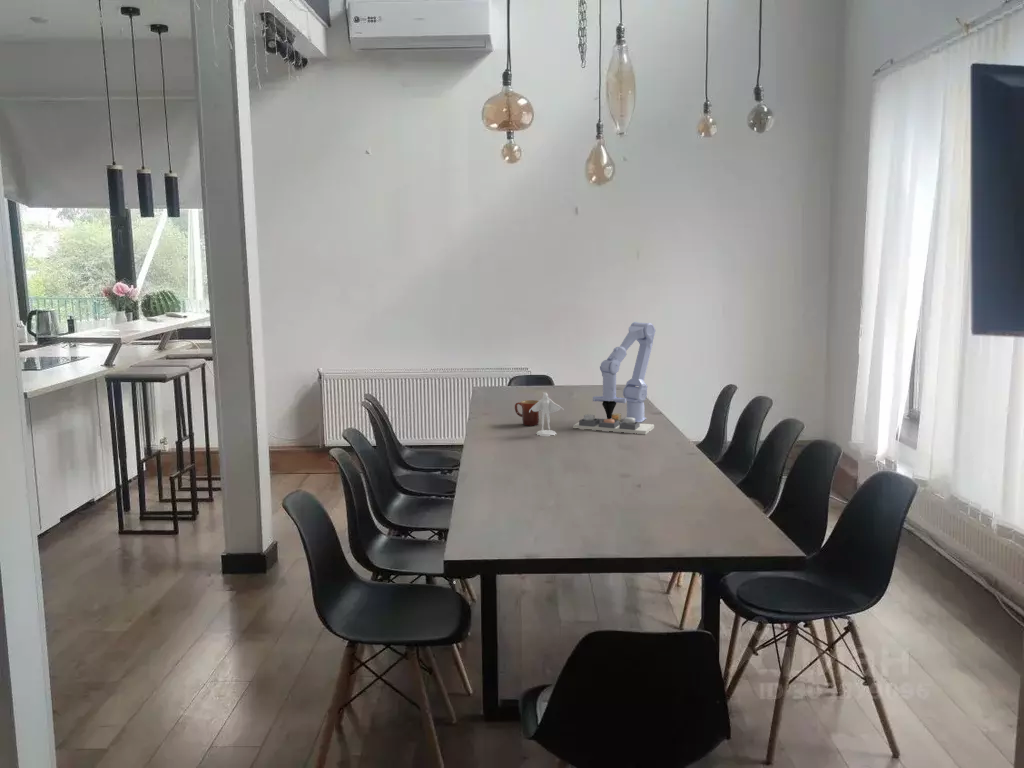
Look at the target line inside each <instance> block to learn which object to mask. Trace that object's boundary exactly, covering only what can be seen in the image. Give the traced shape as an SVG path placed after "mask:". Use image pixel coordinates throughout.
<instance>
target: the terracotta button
mask: <svg viewBox="0 0 1024 768" xmlns="http://www.w3.org/2000/svg"><path fill="white" fill-rule="evenodd" d="M603 419H604V423H615V420H614V419H612V418H611V419H607V418H603Z"/></svg>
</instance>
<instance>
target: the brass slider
mask: <svg viewBox="0 0 1024 768" xmlns="http://www.w3.org/2000/svg"><path fill="white" fill-rule="evenodd" d="M611 419H614V420H619V422H620V420H622V413H617V412H614V413H612V418H611Z"/></svg>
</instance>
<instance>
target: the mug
mask: <svg viewBox="0 0 1024 768" xmlns="http://www.w3.org/2000/svg"><path fill="white" fill-rule="evenodd" d="M538 401H539V400H533V399H525V400H521V401H519V402H516V403H515V404H514V410H515V413H516V415H517V416H518V417H521V418H522V419H521V422H522V425H524V426H526V427H535V426H534V425H536V426H537V425H538V424H539V422H540V413H539V412H540V411H537V412H534V411H532V409H531V408H532V407H533V406H534V405H535V404H536V403H537V402H538ZM518 405H520V406H521V409H522V411H521V413H520V412H519V410H518ZM530 409H531V411H530V413H529V410H530Z"/></svg>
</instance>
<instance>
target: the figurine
mask: <svg viewBox="0 0 1024 768" xmlns="http://www.w3.org/2000/svg"><path fill="white" fill-rule="evenodd" d="M542 393H543V394H542V397H541V398H540V399H539V400H537V401H538V402H537V403H536V404H535V405H534V406H533V407H532V408H531V409H532V411H534V412H537V411H539V412H541V430H538V431H537V432H536V433H535V435H536V434H537V435H536V436H538V435H540V436H539V437H551V436H550V435H554V436H556V435H557V432H556V431H555V430H552V429H551V425H550V422H551V421H550V418H551V417H550V416H551V413H555V412H558V411H560V410H562V411H565V410H564V408H563V407H561V405H559V404H557V403H555V402H554V401H553V400H552V399H551V398H550V397H549V394H548V393H547V392H544V391H543V392H542ZM531 409H530V410H529V413H530V411H531ZM545 417H546V422H547V428H548V429H544V426H545ZM555 434H556V435H555Z"/></svg>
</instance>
